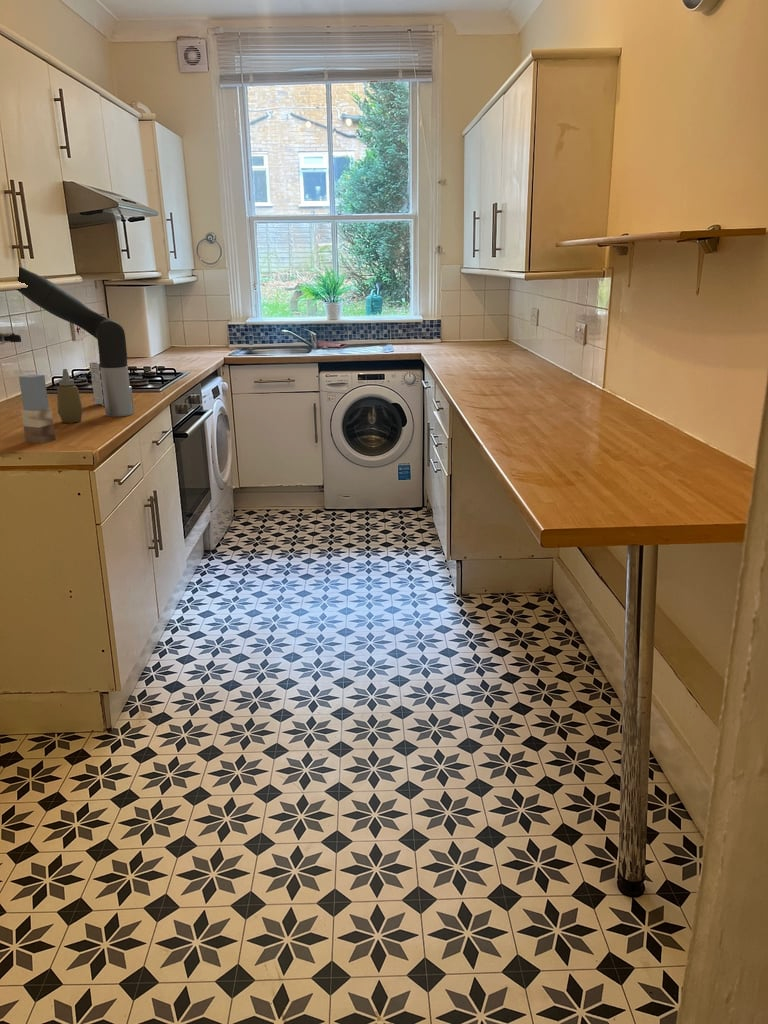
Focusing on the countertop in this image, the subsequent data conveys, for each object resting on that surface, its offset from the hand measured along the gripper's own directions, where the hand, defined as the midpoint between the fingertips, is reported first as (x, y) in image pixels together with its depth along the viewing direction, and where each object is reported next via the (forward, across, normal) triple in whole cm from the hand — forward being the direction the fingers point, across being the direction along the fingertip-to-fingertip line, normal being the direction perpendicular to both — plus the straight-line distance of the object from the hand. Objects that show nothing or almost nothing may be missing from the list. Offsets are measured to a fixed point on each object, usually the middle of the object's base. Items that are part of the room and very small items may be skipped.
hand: (9, 340), depth 236 cm
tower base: (+10, -5, +30) cm, 32 cm away
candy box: (-15, +58, +31) cm, 68 cm away
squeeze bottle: (-3, +22, +30) cm, 38 cm away
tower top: (+10, -4, +25) cm, 27 cm away
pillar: (+10, -4, +20) cm, 23 cm away
